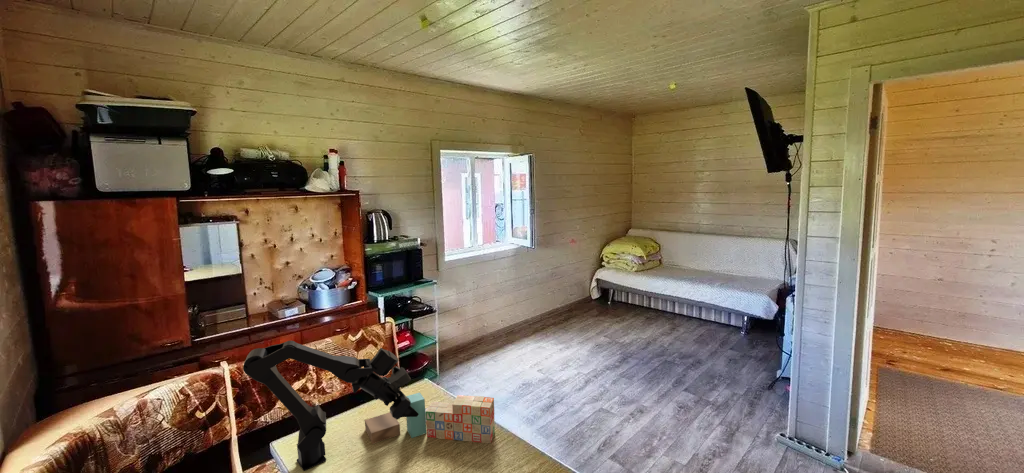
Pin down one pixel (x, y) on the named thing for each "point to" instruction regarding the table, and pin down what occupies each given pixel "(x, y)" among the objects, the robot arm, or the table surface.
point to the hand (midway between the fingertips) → (413, 408)
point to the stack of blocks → (462, 419)
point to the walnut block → (382, 427)
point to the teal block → (418, 423)
